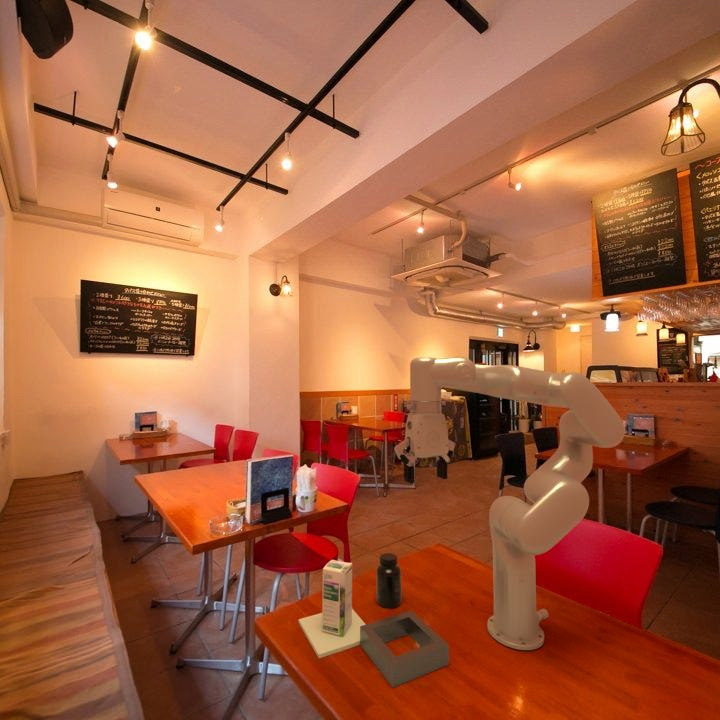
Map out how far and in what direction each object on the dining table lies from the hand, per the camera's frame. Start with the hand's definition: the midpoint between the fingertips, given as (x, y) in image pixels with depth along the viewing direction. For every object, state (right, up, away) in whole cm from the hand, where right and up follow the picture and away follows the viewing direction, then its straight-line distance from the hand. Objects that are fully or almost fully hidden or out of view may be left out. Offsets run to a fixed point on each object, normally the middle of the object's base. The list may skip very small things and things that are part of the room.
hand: (426, 480), depth 92 cm
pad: (-22, -36, 0) cm, 42 cm away
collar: (-6, -36, -8) cm, 37 cm away
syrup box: (-21, -36, 0) cm, 42 cm away
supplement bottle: (-8, -37, +13) cm, 40 cm away
